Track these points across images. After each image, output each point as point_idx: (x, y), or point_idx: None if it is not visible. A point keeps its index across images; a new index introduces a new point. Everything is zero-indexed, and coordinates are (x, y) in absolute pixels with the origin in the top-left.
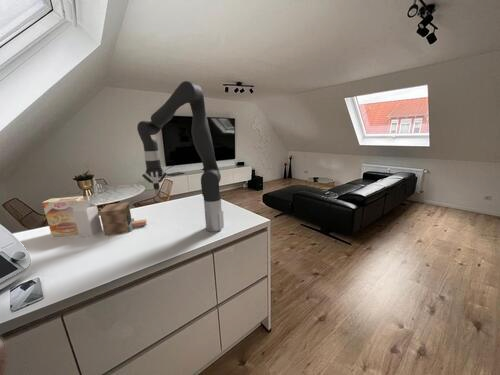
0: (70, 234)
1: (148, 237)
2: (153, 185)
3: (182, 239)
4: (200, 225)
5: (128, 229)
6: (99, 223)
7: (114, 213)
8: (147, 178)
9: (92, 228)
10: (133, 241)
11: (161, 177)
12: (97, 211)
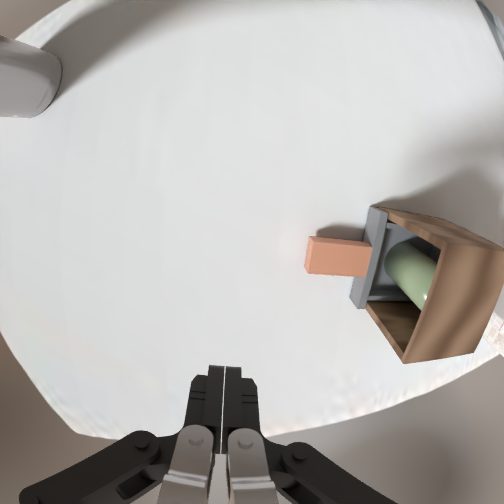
0: None
1: (301, 100)
2: (258, 412)
3: (162, 22)
4: (69, 127)
5: None
6: None
7: (469, 241)
8: (346, 498)
9: None
10: (359, 99)
11: (129, 496)
12: (495, 309)
